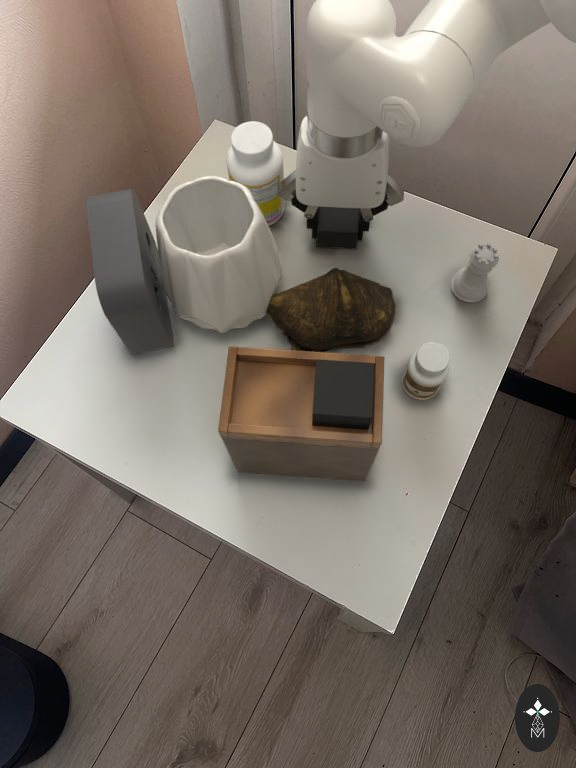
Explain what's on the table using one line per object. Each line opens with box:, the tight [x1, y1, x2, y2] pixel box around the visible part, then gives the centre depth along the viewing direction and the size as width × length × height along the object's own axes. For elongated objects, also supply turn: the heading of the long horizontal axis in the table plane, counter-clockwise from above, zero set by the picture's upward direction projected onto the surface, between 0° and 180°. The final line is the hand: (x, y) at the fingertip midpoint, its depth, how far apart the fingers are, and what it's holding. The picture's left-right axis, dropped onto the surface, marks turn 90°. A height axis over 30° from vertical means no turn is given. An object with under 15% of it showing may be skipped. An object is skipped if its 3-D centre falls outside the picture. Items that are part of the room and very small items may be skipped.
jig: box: [217, 345, 385, 482], centre depth 61 cm, size 14×8×16 cm, turn 85°
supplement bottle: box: [225, 120, 286, 227], centre depth 74 cm, size 7×7×13 cm
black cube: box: [316, 206, 359, 250], centre depth 76 cm, size 5×5×4 cm
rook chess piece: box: [450, 242, 500, 303], centre depth 71 cm, size 4×4×8 cm
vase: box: [154, 175, 283, 334], centre depth 68 cm, size 14×14×15 cm
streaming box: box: [85, 188, 175, 355], centre depth 69 cm, size 14×14×5 cm
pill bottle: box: [401, 341, 451, 401], centre depth 67 cm, size 4×4×8 cm
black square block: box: [312, 359, 375, 430], centre depth 53 cm, size 5×5×4 cm
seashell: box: [266, 267, 397, 353], centre depth 71 cm, size 16×9×7 cm, turn 98°
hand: (337, 229), depth 78 cm, fingers closed on black cube, 5 cm apart
